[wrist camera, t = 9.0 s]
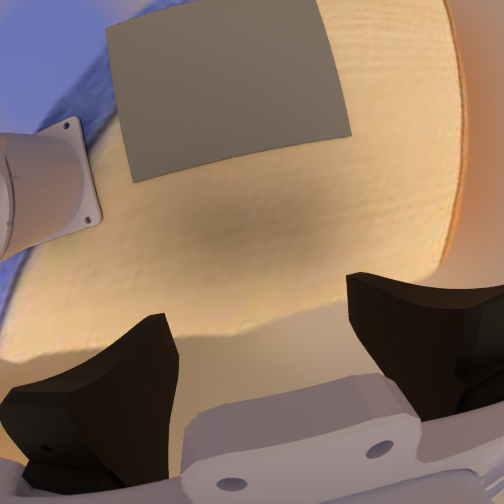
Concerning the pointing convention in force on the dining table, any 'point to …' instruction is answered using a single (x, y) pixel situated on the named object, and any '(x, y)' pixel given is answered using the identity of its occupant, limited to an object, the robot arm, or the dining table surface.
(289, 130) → the mat
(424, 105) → the dining table surface
